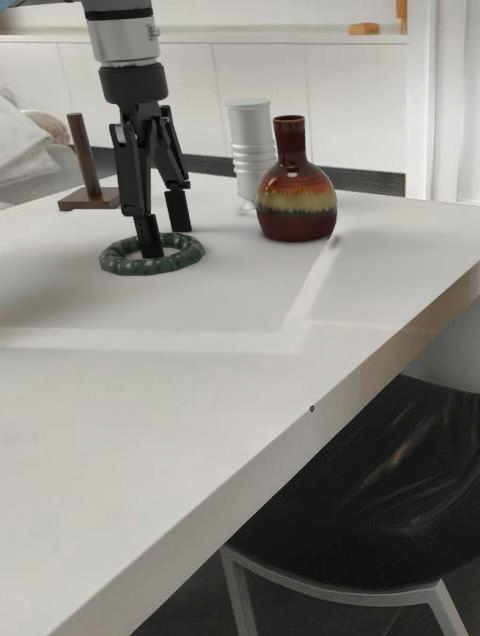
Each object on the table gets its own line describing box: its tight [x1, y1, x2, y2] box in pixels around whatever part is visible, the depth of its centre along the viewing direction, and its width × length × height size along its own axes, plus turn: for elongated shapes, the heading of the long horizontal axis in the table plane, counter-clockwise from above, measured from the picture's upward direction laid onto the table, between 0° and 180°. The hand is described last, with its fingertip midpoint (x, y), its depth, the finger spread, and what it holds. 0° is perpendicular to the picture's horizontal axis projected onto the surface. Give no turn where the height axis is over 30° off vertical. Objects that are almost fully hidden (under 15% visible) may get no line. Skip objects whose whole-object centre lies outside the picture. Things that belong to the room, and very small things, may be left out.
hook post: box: [56, 112, 120, 212], centre depth 112 cm, size 9×9×14 cm
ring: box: [98, 232, 207, 277], centre depth 88 cm, size 13×13×3 cm
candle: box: [224, 97, 278, 210], centre depth 106 cm, size 7×7×15 cm
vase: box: [255, 114, 338, 243], centre depth 91 cm, size 11×11×15 cm
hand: (170, 252), depth 93 cm, fingers open, 10 cm apart
